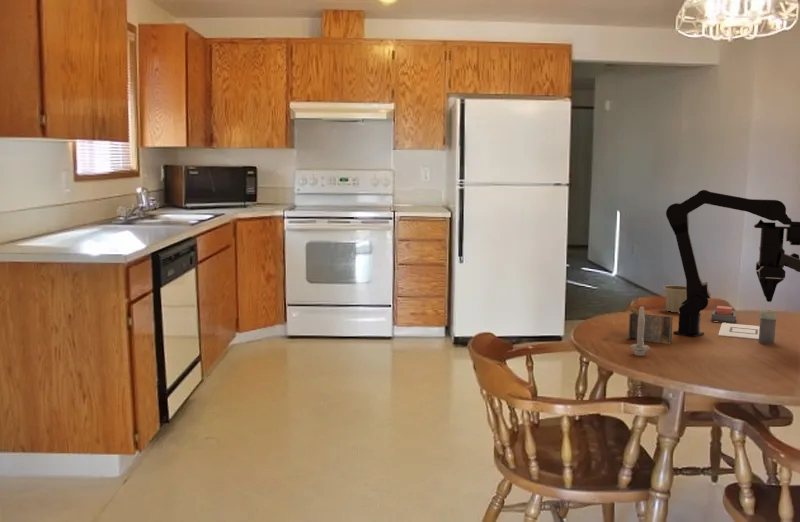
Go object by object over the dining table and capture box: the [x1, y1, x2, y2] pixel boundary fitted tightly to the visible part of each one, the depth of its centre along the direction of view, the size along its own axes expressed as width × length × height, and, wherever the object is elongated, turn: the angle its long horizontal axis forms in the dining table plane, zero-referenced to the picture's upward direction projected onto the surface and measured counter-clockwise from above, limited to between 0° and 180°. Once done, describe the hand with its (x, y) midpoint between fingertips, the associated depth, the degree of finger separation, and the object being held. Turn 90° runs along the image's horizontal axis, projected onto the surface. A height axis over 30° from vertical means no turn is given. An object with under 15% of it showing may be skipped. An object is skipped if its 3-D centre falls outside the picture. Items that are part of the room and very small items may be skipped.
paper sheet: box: [717, 323, 760, 341], centre depth 214 cm, size 20×13×1 cm, turn 153°
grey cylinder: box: [758, 309, 778, 345], centre depth 199 cm, size 4×4×9 cm
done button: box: [716, 305, 733, 315], centre depth 229 cm, size 4×4×2 cm
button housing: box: [711, 310, 737, 324], centre depth 230 cm, size 7×7×2 cm
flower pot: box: [662, 284, 687, 313], centre depth 245 cm, size 9×9×9 cm
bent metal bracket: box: [628, 308, 674, 345], centre depth 200 cm, size 11×3×10 cm, turn 60°
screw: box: [630, 306, 650, 357], centre depth 183 cm, size 13×5×5 cm
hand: (767, 299), depth 200 cm, fingers open, 9 cm apart
